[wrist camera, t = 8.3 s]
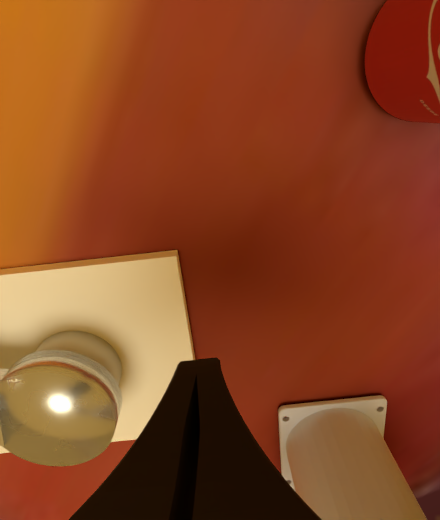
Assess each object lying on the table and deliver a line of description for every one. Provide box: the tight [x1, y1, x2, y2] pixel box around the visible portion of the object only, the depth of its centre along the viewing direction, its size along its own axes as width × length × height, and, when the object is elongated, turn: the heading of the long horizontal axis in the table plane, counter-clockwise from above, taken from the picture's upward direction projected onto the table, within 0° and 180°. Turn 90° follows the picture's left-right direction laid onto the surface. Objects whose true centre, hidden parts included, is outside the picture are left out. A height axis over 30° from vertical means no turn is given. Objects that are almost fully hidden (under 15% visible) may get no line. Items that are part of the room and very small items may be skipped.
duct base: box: [0, 250, 195, 453], centre depth 22 cm, size 14×17×3 cm
